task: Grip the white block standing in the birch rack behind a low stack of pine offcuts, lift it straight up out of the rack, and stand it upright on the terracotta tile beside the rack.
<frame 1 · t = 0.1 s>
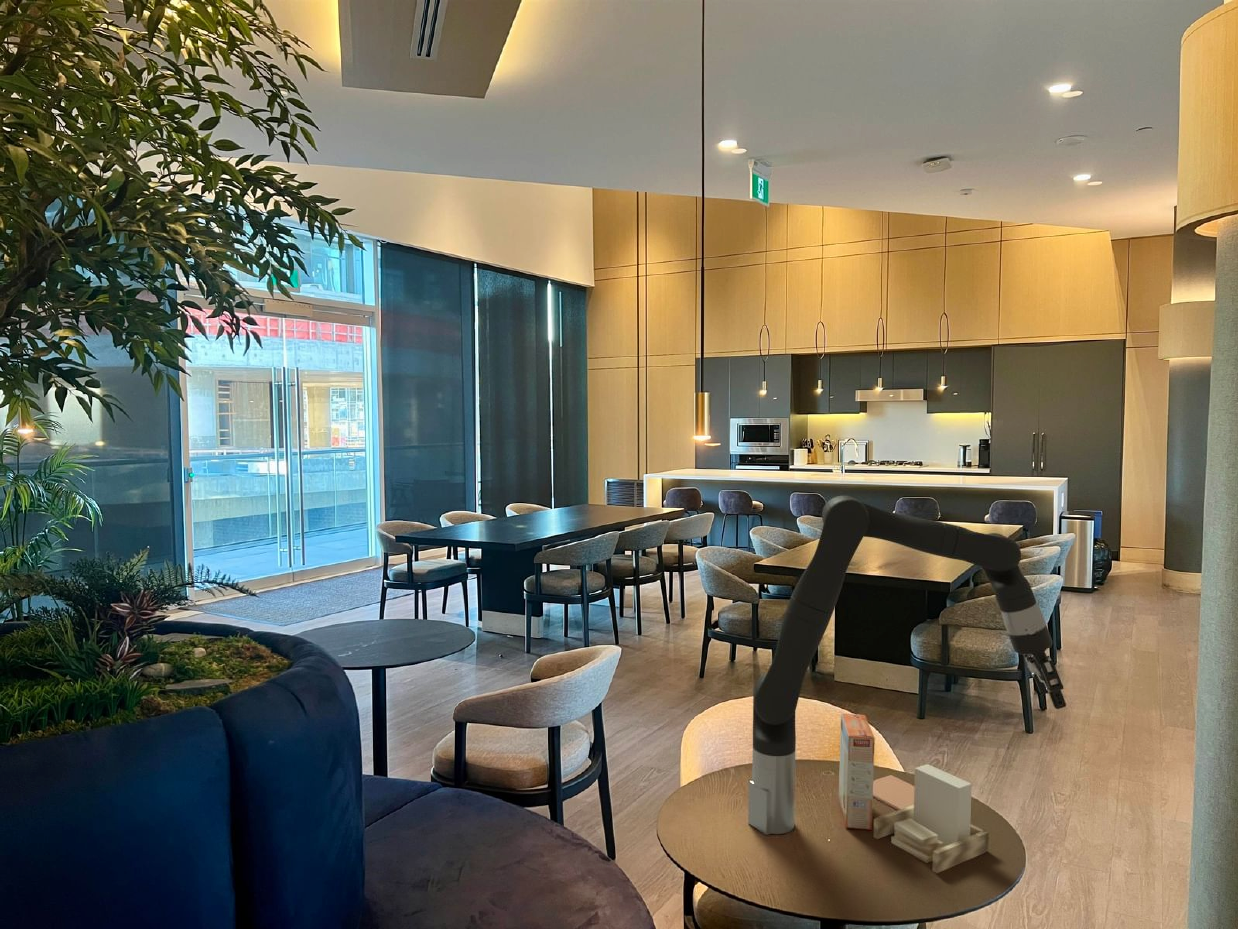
hand: (1053, 700, 168), 31 cm above the table, tool tilted 20°, fingers open, 8 cm apart
terracotta tile: (900, 796, 193), on the table
offcut stack: (916, 850, 169), on the table
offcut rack: (929, 844, 171), on the table
white block: (940, 840, 173), resting in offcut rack
cracker box: (855, 815, 184), on the table
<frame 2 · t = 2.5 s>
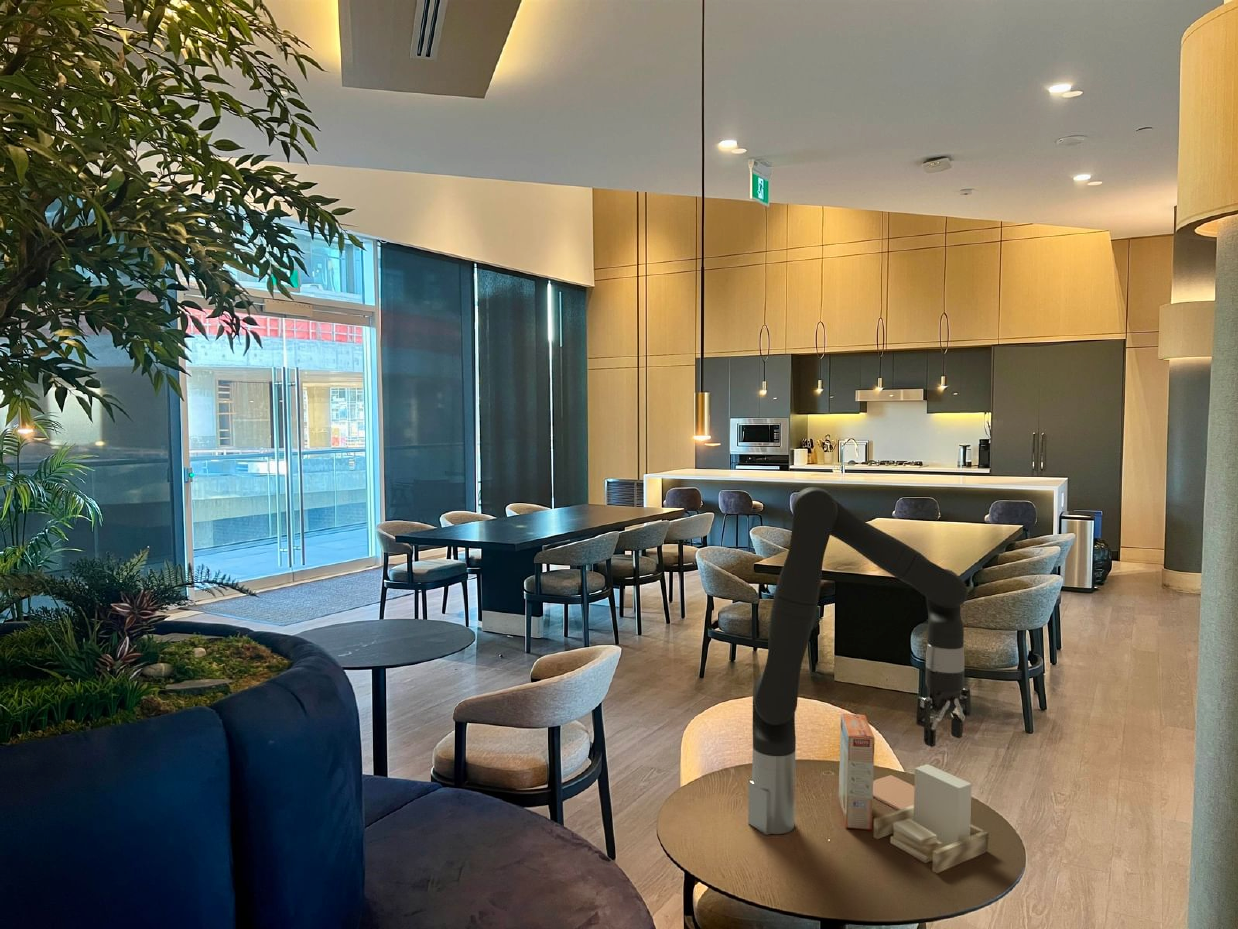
hand: (943, 741, 171), 21 cm above the table, tool pointing down, fingers open, 8 cm apart
nothing on the table moved.
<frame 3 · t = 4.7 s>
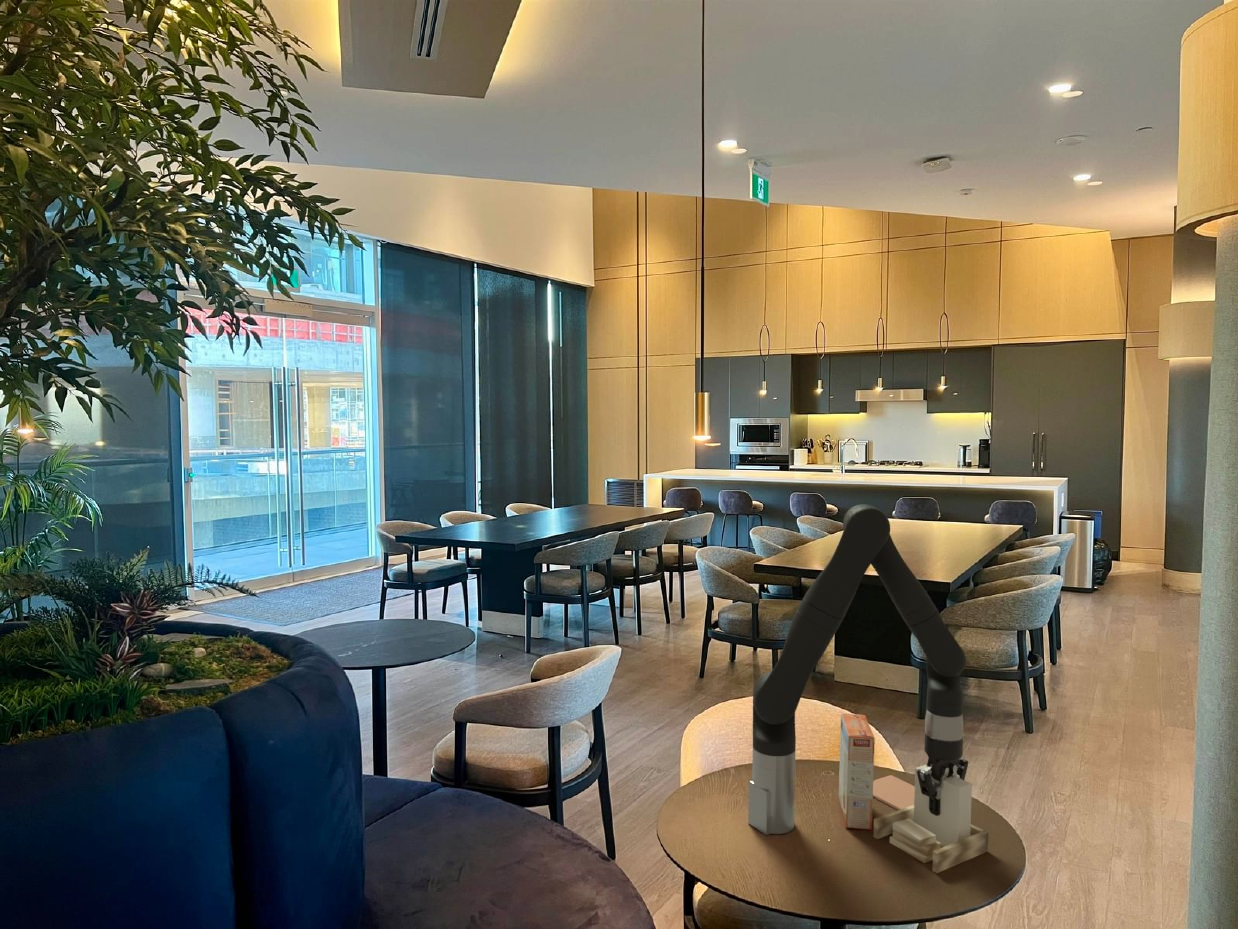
hand: (941, 811, 172), 6 cm above the table, tool pointing down, fingers closed on white block, 4 cm apart
white block: (941, 839, 173), resting in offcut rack, touching gripper
everything else where it was.
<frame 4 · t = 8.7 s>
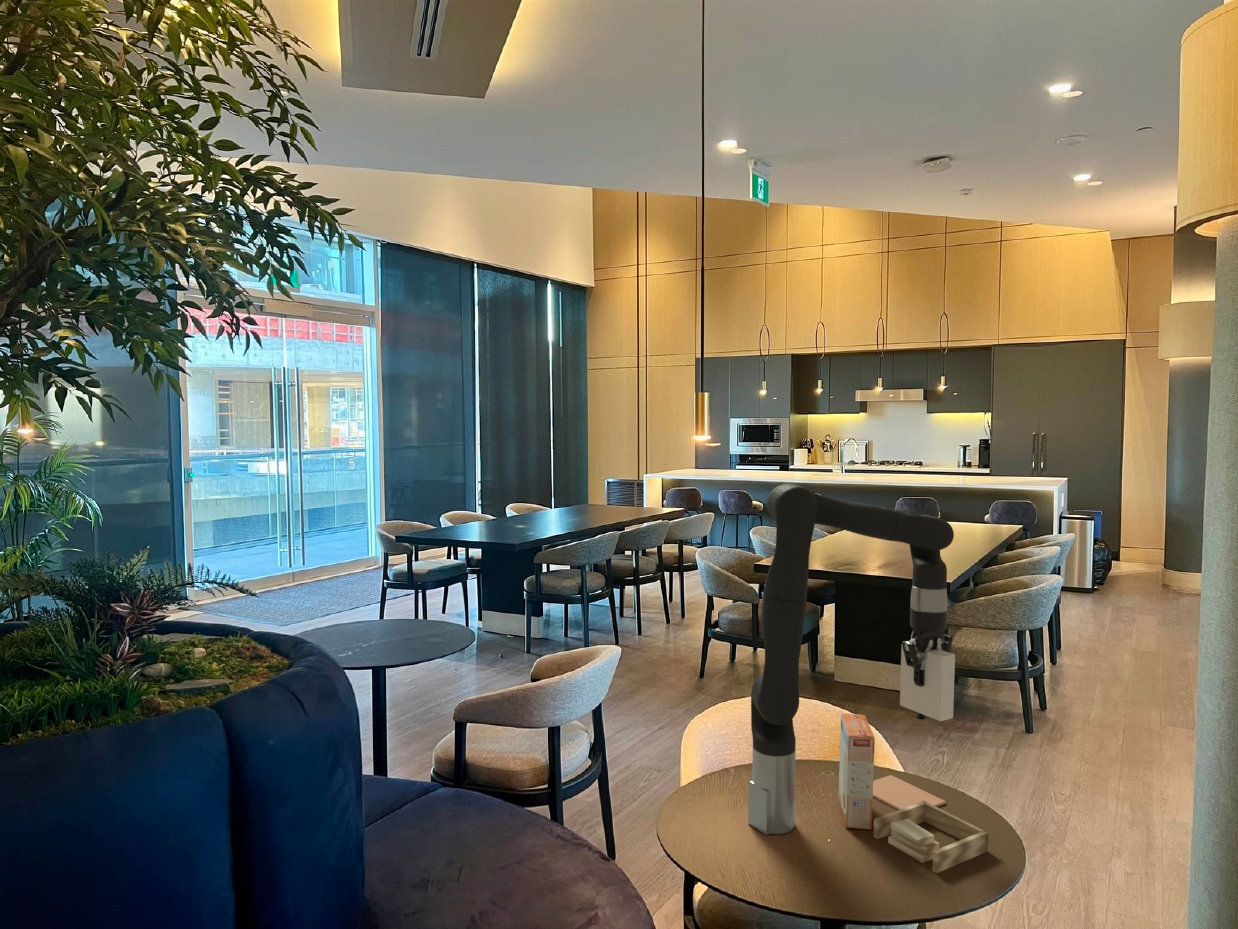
hand: (926, 683, 179), 31 cm above the table, tool pointing down, fingers closed on white block, 4 cm apart
white block: (925, 711, 179), point 25 cm above the table, touching gripper
everything else where it was.
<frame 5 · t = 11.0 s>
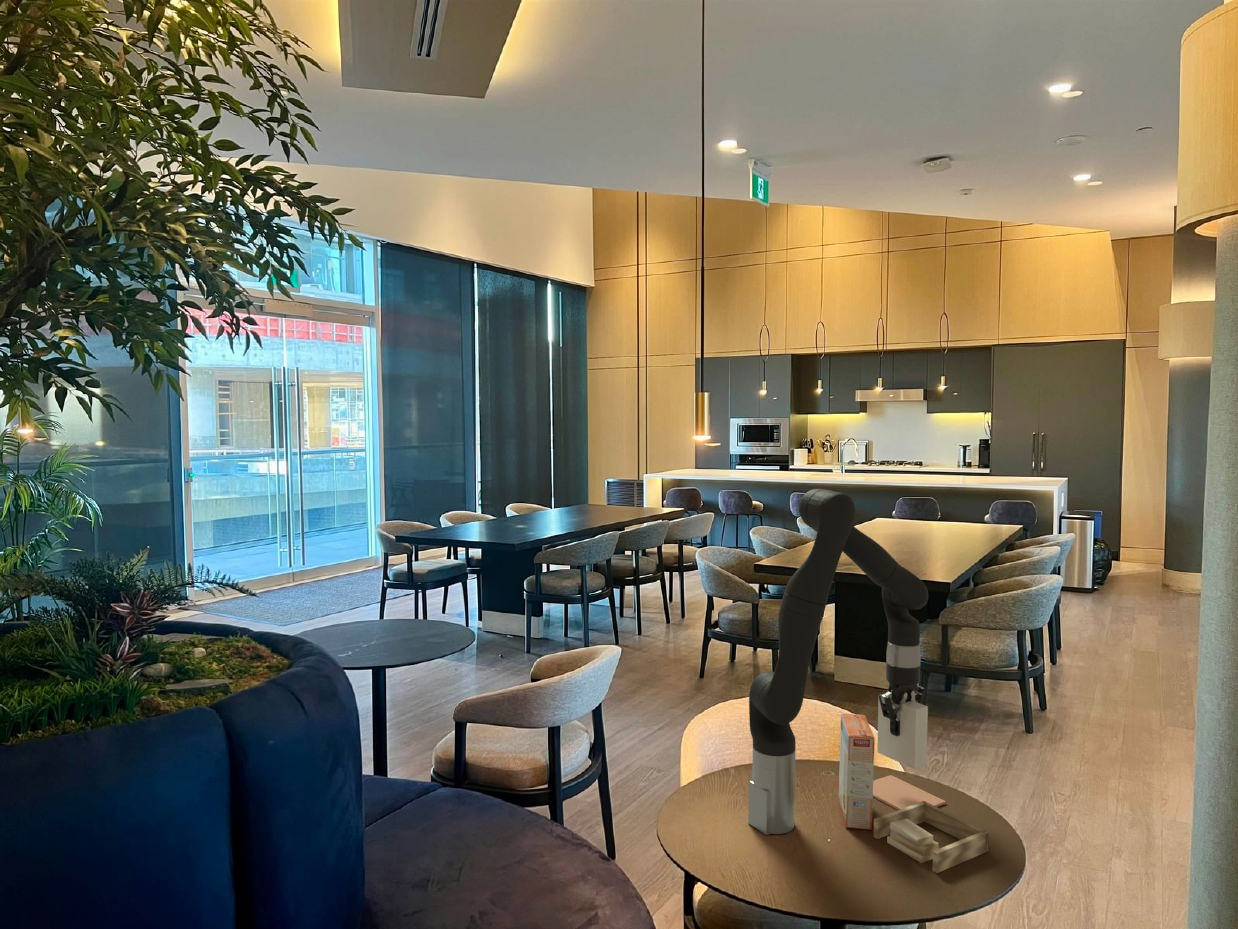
hand: (901, 732, 192), 15 cm above the table, tool pointing down, fingers closed on white block, 4 cm apart
white block: (901, 759, 192), point 9 cm above the table, touching gripper
everything else where it was.
when the fingers open (8 cm above the table, at t = 13.1 s): white block stays where it is, resting on terracotta tile.
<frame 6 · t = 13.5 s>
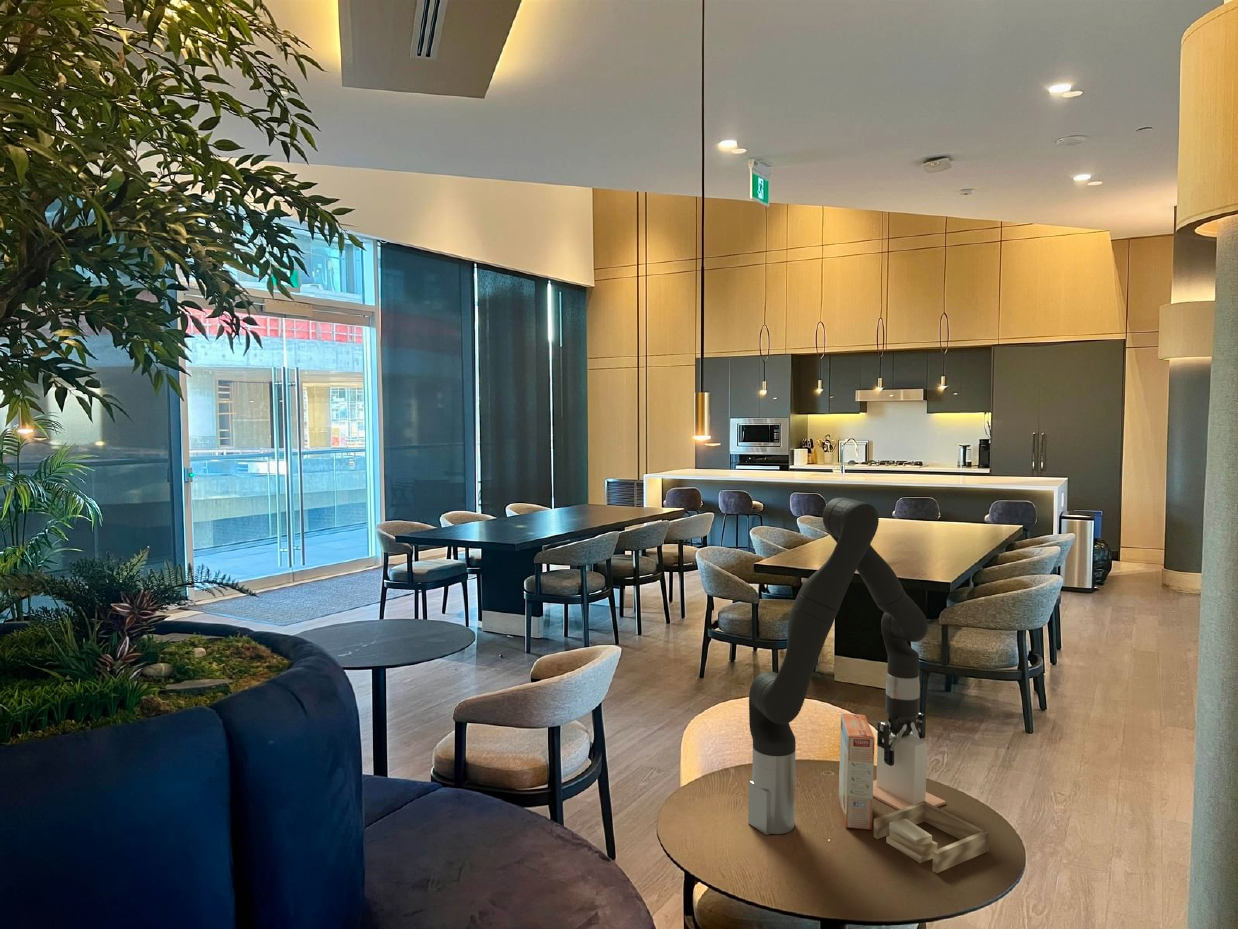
hand: (901, 760, 192), 9 cm above the table, tool pointing down, fingers open, 7 cm apart
white block: (900, 793, 192), point 1 cm above the table, touching terracotta tile
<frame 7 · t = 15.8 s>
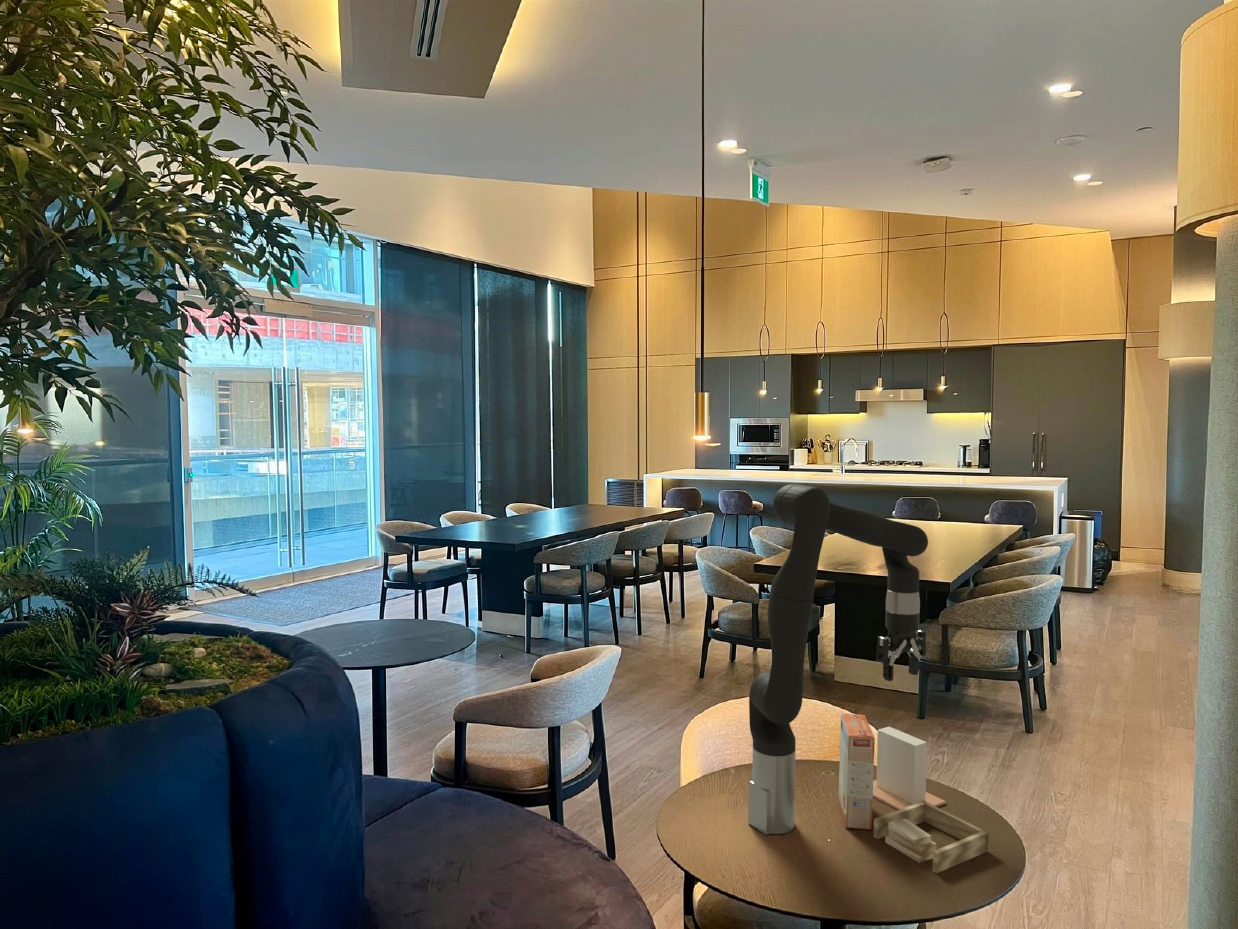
hand: (900, 677, 191), 28 cm above the table, tool pointing down, fingers open, 8 cm apart
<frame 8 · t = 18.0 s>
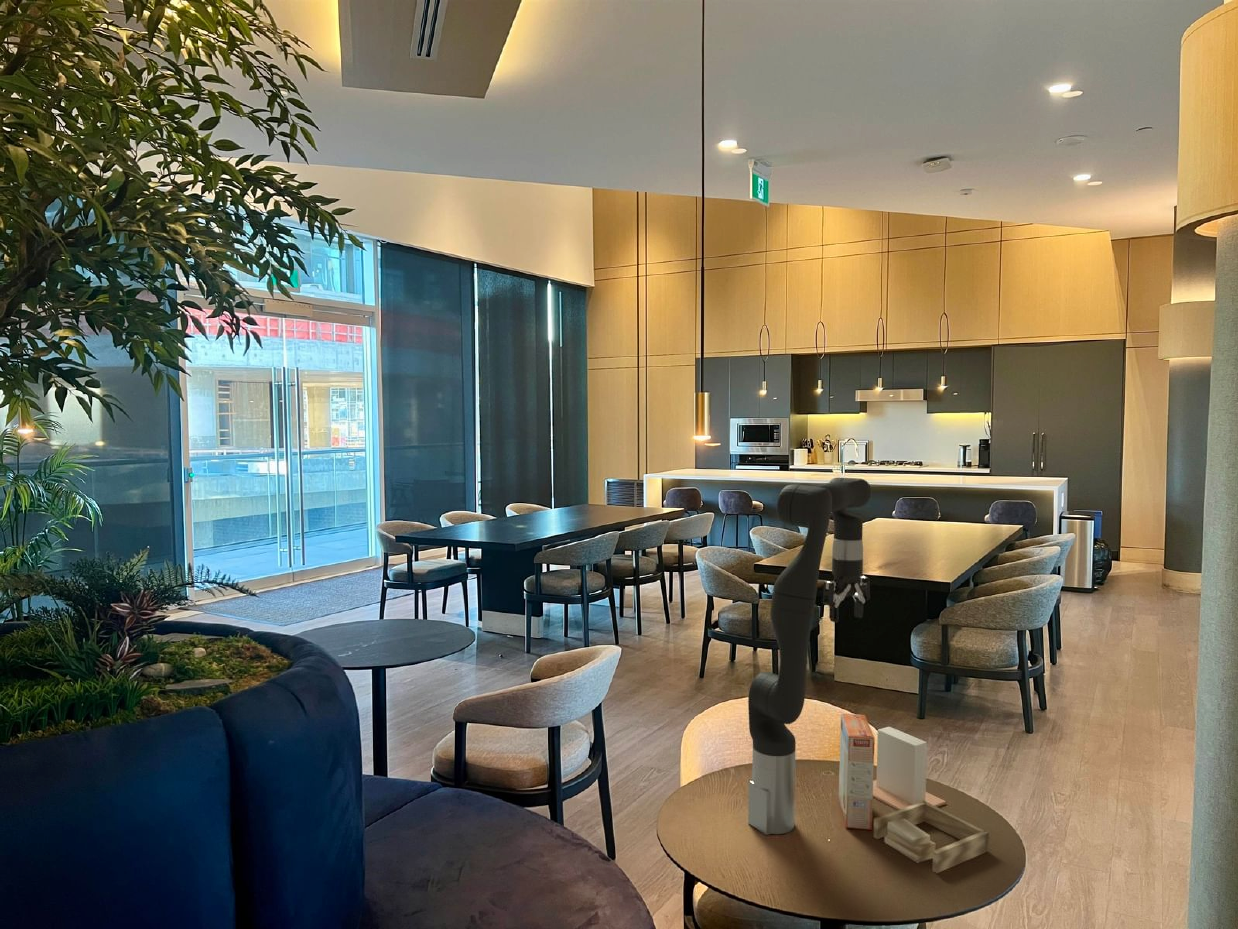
hand: (846, 619, 207), 38 cm above the table, tool pointing down, fingers open, 8 cm apart
at the end: white block inside the target area on the terracotta tile (0.1 cm from its centre), point 0.6 cm above the terracotta tile's base; white block tilted 0°; offcut stack moved 1.6 cm from its start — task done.
